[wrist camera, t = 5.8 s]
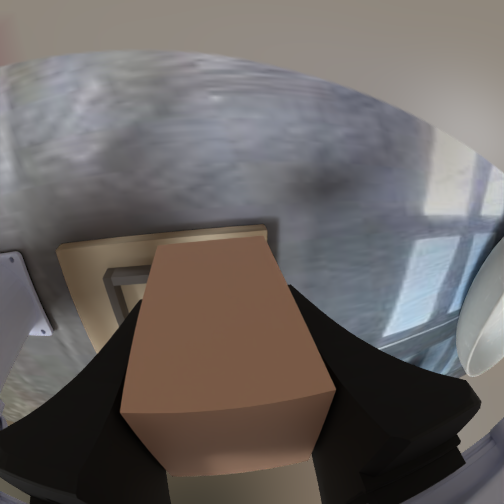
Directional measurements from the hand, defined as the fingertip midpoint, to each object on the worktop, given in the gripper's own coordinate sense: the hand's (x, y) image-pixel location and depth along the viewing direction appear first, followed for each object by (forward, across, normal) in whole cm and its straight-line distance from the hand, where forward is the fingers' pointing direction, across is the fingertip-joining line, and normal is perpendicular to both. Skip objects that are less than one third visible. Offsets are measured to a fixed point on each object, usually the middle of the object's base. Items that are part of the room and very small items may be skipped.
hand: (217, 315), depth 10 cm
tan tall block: (+2, 0, 0) cm, 2 cm away
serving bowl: (+9, -33, +10) cm, 36 cm away
